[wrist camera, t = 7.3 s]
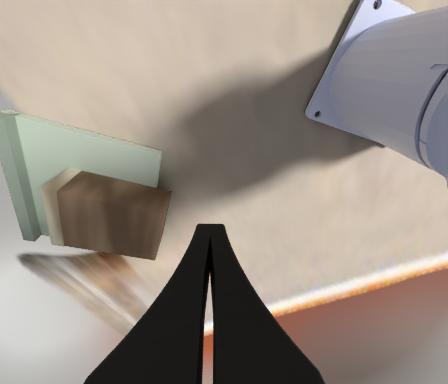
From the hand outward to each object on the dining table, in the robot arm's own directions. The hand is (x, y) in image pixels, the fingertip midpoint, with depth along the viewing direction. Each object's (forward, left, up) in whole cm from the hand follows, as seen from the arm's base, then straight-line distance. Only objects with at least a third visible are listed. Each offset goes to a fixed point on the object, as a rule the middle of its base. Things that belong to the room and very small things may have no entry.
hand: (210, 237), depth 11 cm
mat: (+10, +7, -10) cm, 16 cm away
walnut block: (+3, +7, -7) cm, 11 cm away
